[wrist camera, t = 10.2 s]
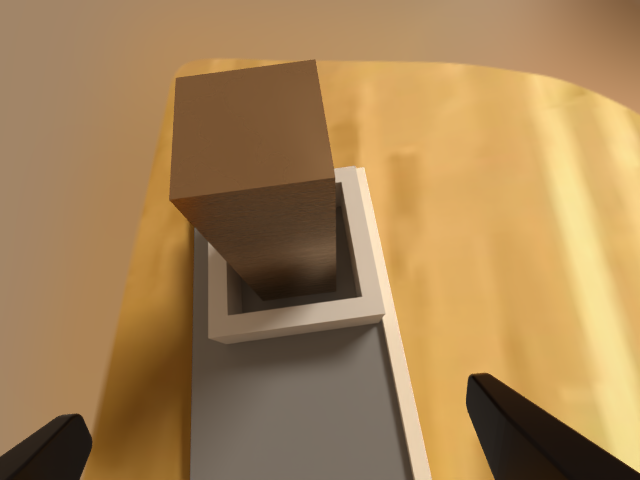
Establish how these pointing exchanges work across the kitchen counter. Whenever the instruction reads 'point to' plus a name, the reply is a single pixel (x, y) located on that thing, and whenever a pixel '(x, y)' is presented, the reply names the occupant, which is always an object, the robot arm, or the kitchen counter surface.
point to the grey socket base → (304, 368)
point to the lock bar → (259, 175)
